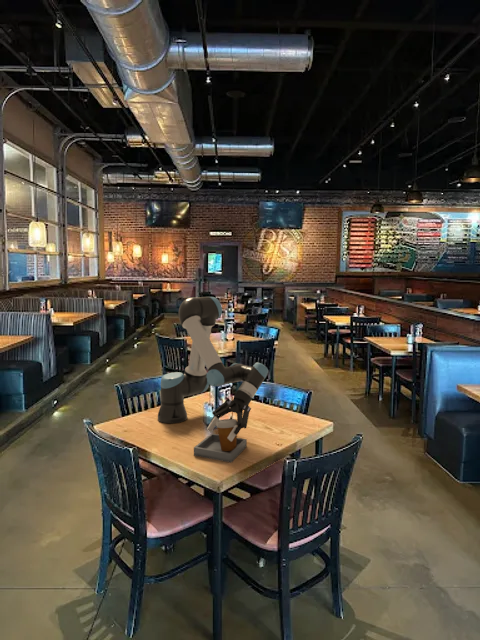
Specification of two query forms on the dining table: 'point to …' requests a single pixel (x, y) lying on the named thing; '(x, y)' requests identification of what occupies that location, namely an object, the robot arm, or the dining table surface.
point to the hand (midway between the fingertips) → (218, 435)
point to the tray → (218, 449)
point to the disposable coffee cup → (226, 434)
